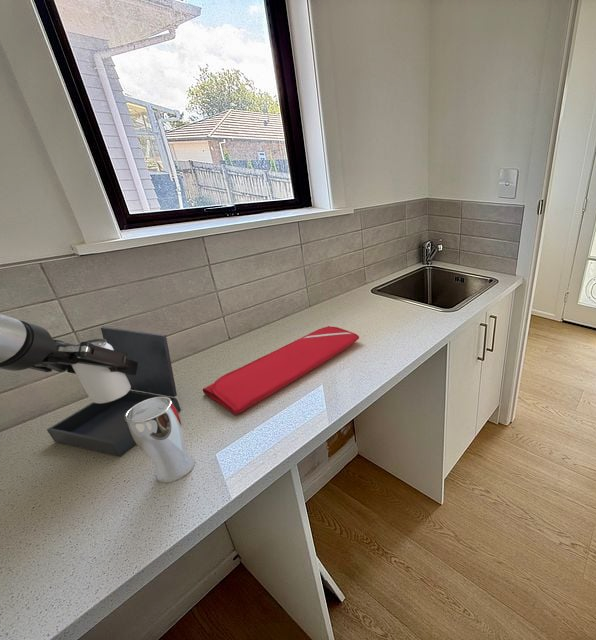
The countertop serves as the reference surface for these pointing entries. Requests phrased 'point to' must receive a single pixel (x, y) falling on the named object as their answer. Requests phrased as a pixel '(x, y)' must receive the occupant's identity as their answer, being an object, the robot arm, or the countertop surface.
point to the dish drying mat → (277, 369)
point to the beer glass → (160, 437)
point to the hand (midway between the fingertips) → (116, 369)
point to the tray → (102, 425)
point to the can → (101, 379)
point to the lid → (145, 359)
